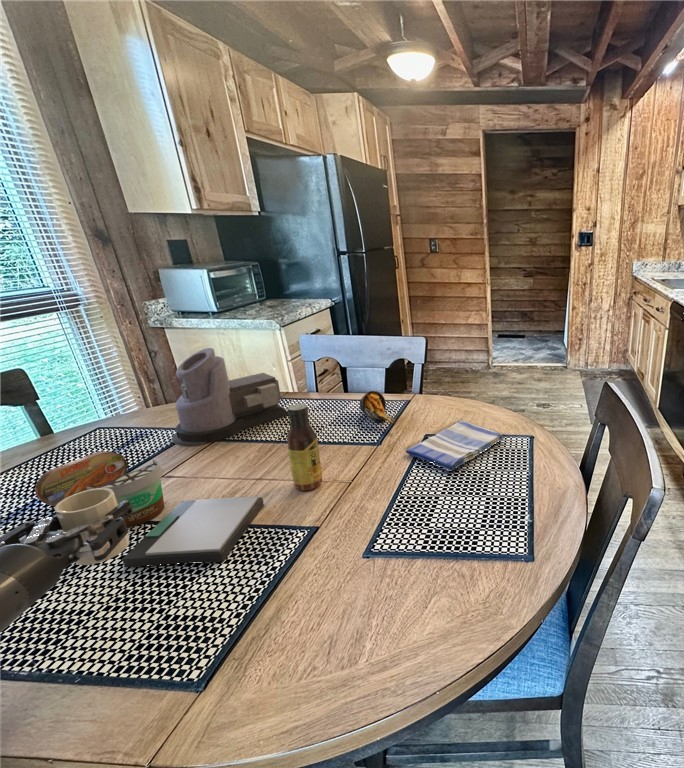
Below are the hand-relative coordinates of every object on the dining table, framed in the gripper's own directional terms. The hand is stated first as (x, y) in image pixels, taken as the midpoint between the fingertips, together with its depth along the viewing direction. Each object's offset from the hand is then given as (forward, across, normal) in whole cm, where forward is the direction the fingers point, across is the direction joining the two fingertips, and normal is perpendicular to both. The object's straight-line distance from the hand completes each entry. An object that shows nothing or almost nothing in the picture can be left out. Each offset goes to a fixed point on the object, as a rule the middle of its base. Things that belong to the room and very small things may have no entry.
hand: (104, 507), depth 63 cm
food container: (+20, +11, +17) cm, 28 cm away
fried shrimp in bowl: (+66, -28, +17) cm, 74 cm away
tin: (+30, +28, +17) cm, 45 cm away
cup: (-2, 0, +6) cm, 6 cm away
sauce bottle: (+30, -18, +17) cm, 39 cm away
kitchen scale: (+14, -3, +16) cm, 22 cm away
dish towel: (+46, -53, +16) cm, 72 cm away
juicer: (+65, +15, +17) cm, 69 cm away
